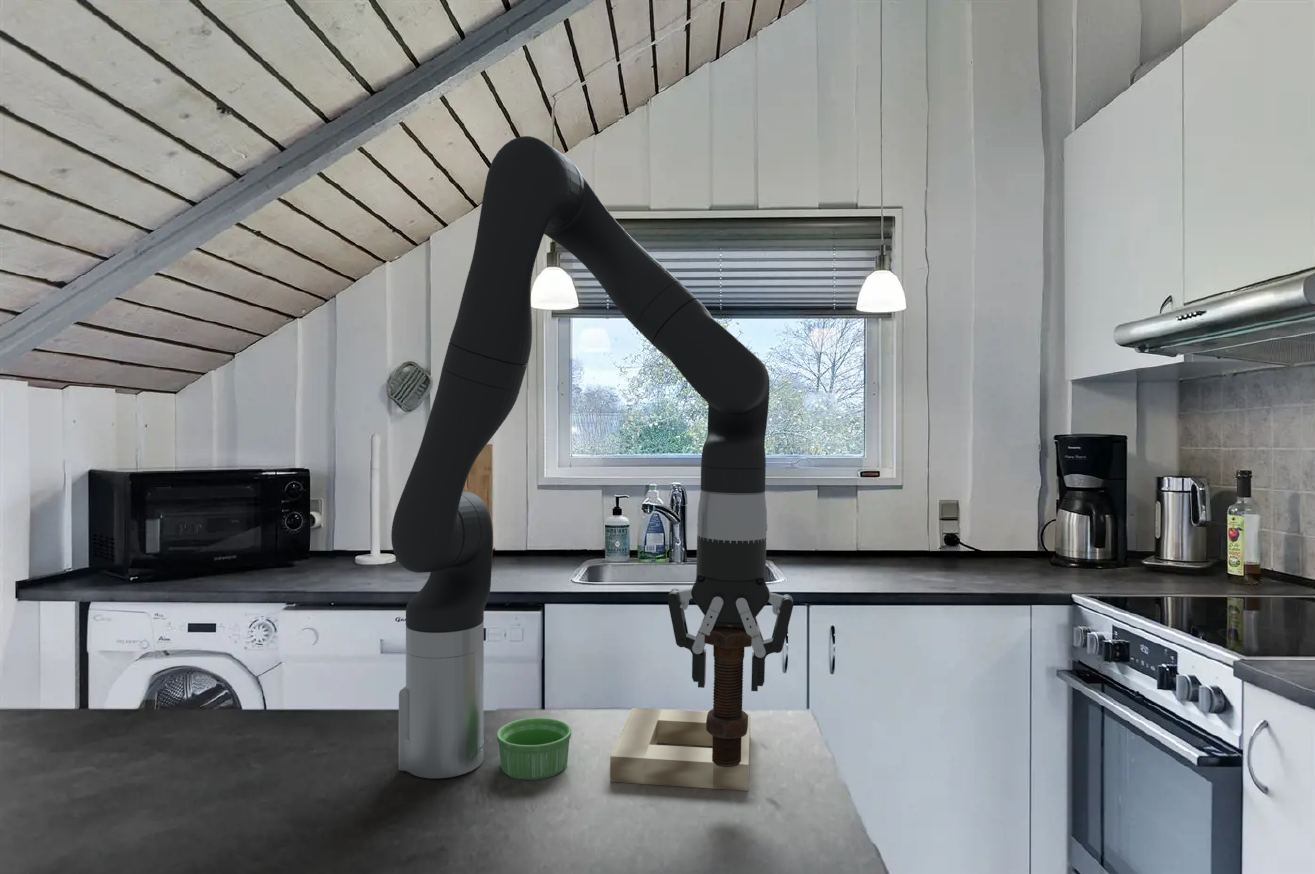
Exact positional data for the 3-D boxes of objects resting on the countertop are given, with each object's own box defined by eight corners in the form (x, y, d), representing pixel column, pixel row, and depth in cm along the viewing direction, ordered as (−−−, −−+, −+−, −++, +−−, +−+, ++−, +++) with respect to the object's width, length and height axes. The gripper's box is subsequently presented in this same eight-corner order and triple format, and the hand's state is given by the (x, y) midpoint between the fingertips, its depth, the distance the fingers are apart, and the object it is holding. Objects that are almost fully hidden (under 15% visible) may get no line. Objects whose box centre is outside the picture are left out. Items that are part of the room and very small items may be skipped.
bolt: (747, 777, 83) (750, 635, 83) (699, 772, 84) (702, 632, 84) (751, 754, 89) (754, 622, 89) (707, 750, 90) (710, 619, 90)
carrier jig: (610, 781, 92) (610, 755, 92) (632, 729, 108) (632, 707, 108) (748, 790, 90) (748, 764, 90) (750, 736, 106) (750, 713, 106)
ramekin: (492, 756, 99) (492, 721, 99) (563, 747, 102) (563, 713, 102) (501, 787, 91) (501, 749, 91) (578, 777, 94) (578, 740, 94)
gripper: (662, 534, 83) (658, 694, 84) (800, 540, 81) (796, 703, 82) (670, 525, 91) (666, 672, 91) (796, 530, 89) (793, 680, 89)
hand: (728, 686), depth 86 cm, fingers closed on bolt, 5 cm apart
